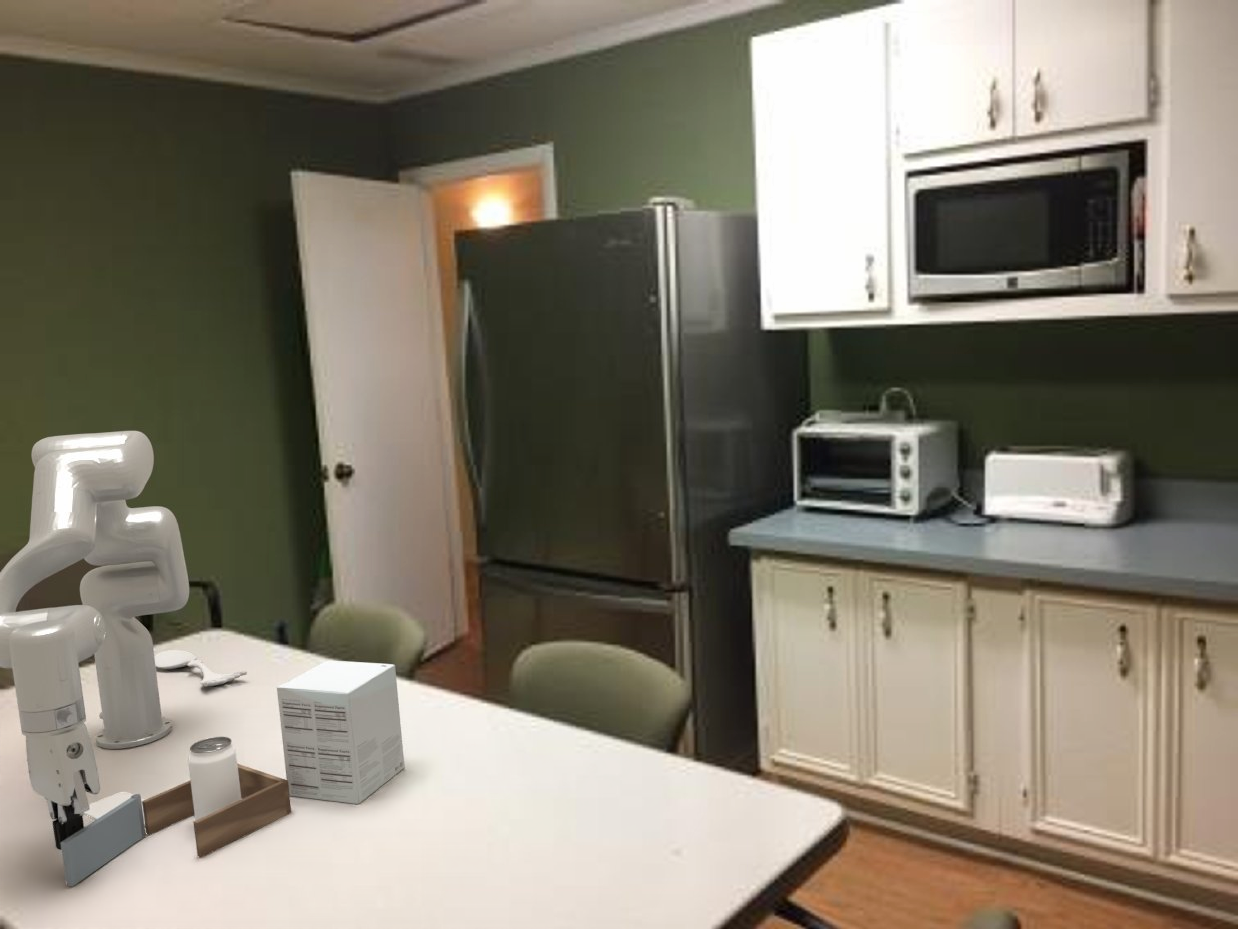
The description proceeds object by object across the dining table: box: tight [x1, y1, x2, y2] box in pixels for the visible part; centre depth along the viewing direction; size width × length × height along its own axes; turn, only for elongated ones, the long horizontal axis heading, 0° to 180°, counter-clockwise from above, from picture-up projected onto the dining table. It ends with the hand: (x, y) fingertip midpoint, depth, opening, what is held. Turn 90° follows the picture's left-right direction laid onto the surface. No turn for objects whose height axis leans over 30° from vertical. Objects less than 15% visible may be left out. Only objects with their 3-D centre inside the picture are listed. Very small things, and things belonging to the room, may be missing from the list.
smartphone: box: [84, 791, 145, 825], centre depth 155 cm, size 7×1×15 cm
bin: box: [142, 763, 292, 858], centre depth 149 cm, size 14×15×5 cm
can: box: [187, 736, 242, 821], centre depth 149 cm, size 6×6×12 cm
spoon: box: [154, 649, 248, 687], centre depth 218 cm, size 9×32×4 cm, turn 46°
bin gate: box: [60, 793, 147, 887], centre depth 140 cm, size 14×1×6 cm, turn 165°
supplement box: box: [276, 659, 406, 805], centre depth 160 cm, size 13×13×18 cm
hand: (71, 845), depth 137 cm, fingers closed
